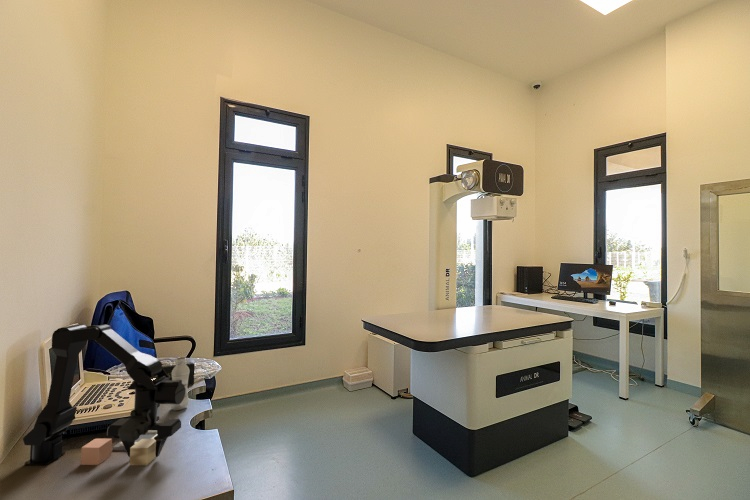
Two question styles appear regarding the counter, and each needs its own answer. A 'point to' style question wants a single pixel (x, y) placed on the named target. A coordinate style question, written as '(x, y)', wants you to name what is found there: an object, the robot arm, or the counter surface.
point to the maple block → (143, 452)
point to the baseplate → (147, 436)
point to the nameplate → (191, 373)
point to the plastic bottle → (182, 374)
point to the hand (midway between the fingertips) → (144, 456)
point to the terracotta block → (96, 451)
